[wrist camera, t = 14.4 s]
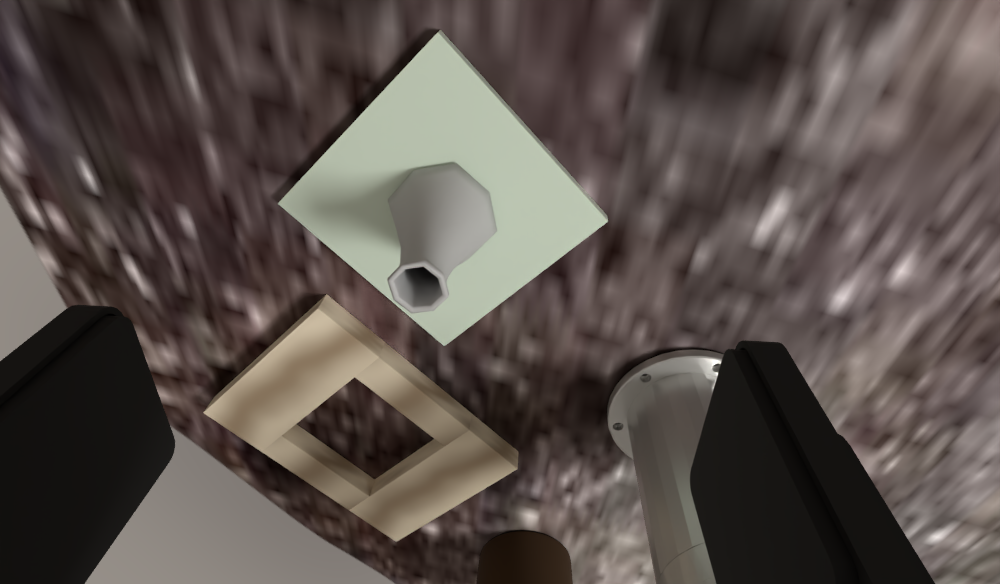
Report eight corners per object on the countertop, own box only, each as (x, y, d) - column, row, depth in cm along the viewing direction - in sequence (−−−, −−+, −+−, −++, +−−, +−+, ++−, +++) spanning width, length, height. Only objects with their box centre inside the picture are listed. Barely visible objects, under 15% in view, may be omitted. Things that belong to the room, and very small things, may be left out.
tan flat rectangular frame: (518, 451, 53) (517, 468, 51) (400, 524, 59) (396, 541, 57) (326, 294, 45) (318, 308, 43) (214, 396, 51) (203, 412, 49)
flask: (462, 142, 37) (439, 203, 29) (515, 234, 40) (509, 314, 32) (370, 192, 39) (323, 262, 31) (427, 275, 42) (399, 360, 34)
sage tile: (606, 215, 40) (608, 221, 39) (445, 338, 46) (444, 346, 46) (440, 29, 35) (437, 32, 34) (283, 198, 41) (277, 203, 40)
